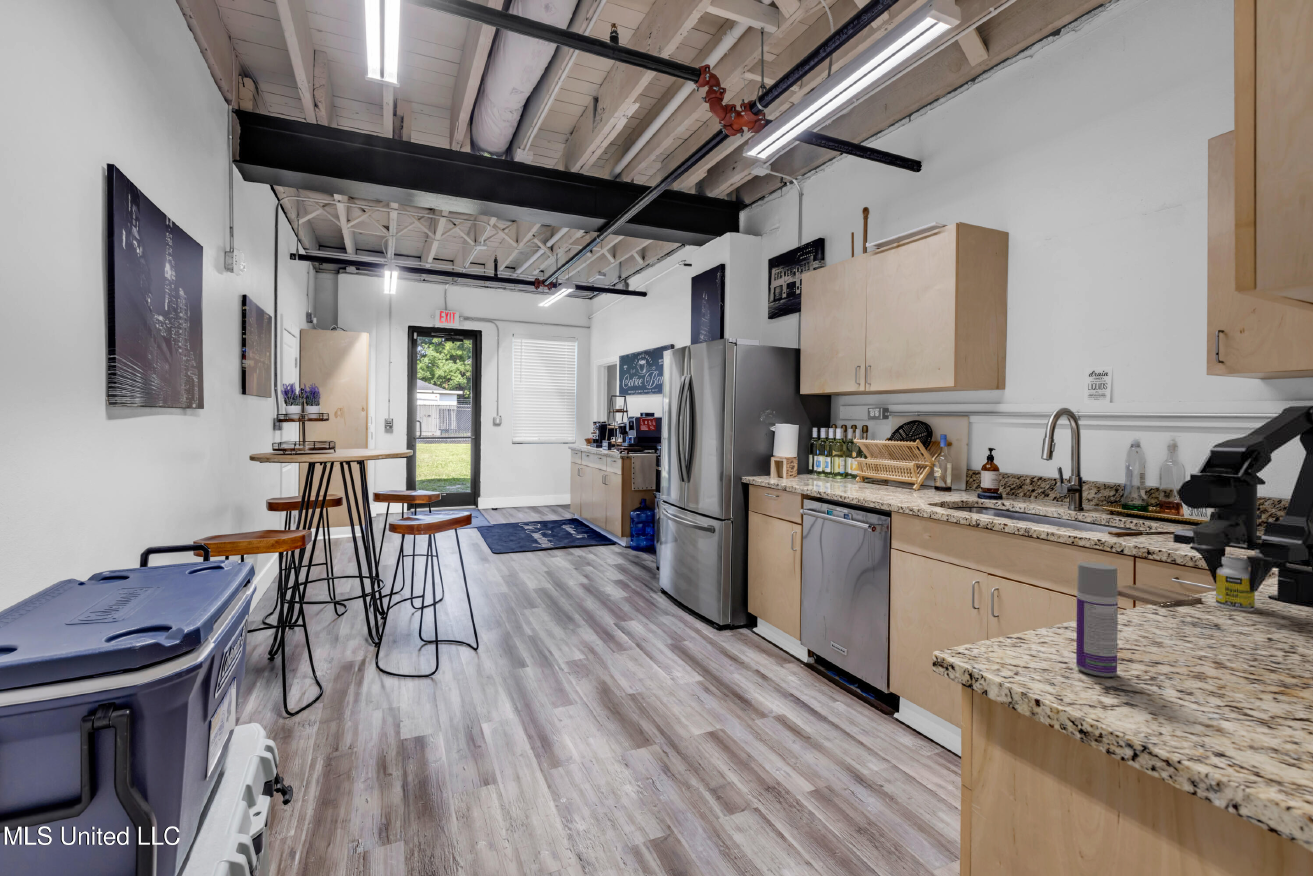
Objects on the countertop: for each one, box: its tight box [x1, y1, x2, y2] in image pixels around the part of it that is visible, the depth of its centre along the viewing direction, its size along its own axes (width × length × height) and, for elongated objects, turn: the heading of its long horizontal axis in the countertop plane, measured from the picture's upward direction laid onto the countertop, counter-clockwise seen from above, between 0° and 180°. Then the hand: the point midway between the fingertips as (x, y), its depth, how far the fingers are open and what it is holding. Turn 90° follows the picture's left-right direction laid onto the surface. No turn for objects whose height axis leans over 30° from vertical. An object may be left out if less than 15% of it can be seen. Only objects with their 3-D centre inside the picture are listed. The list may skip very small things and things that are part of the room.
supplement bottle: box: [1215, 555, 1256, 612], centre depth 114 cm, size 5×5×10 cm
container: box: [1075, 561, 1119, 678], centre depth 83 cm, size 5×5×15 cm
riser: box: [1117, 583, 1203, 608], centre depth 121 cm, size 11×11×2 cm
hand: (1235, 587), depth 114 cm, fingers closed on supplement bottle, 5 cm apart
